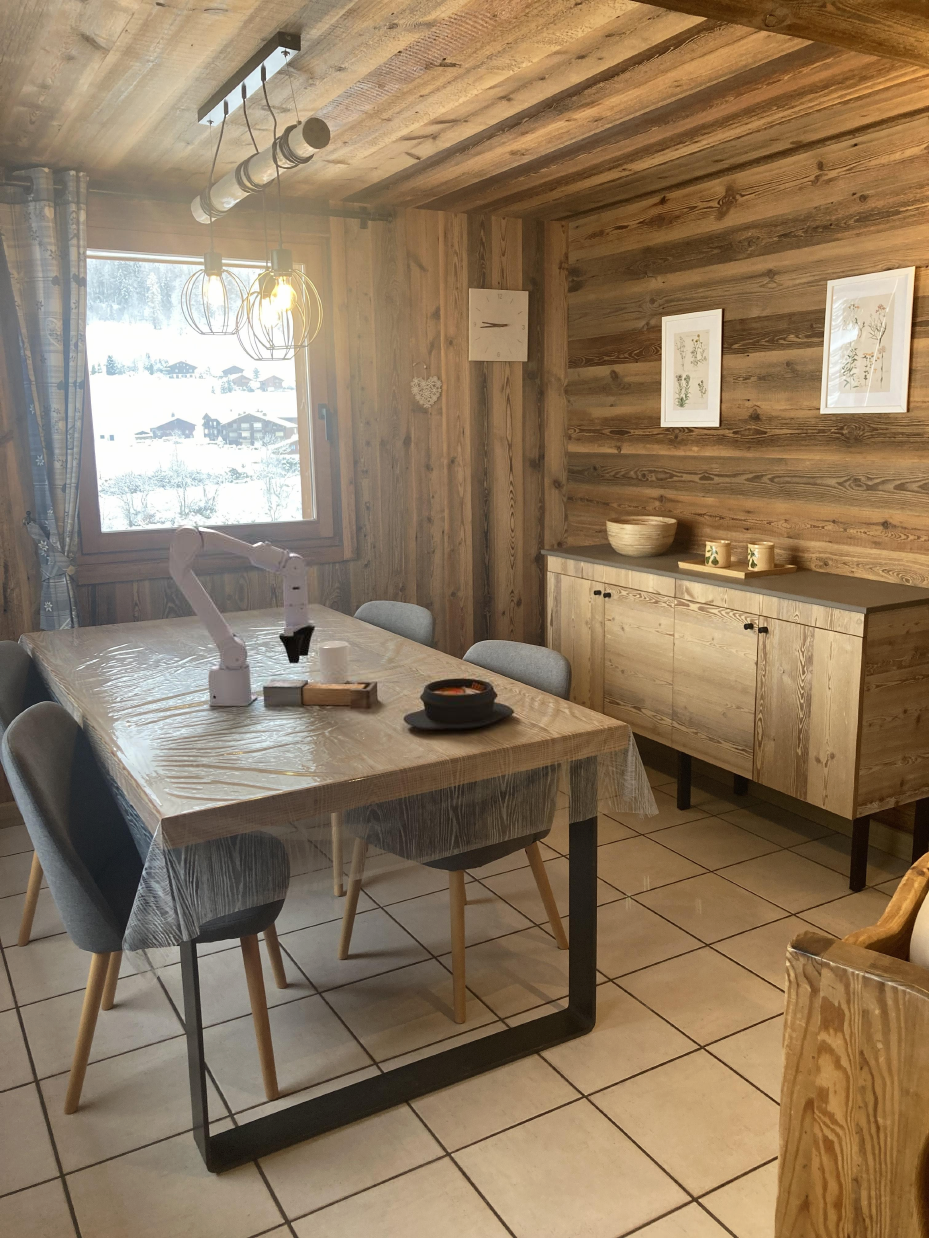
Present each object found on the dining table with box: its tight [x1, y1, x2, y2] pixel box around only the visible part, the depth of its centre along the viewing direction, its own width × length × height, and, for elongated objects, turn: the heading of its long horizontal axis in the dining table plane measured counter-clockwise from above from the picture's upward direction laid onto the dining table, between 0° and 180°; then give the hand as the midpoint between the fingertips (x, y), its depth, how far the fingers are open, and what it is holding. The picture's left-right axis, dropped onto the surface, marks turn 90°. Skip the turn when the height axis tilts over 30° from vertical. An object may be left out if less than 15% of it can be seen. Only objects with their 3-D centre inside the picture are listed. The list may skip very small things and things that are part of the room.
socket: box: [350, 680, 379, 710], centre depth 231 cm, size 5×8×4 cm, turn 173°
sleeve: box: [262, 679, 309, 708], centre depth 234 cm, size 9×7×5 cm
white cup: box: [316, 640, 349, 684], centre depth 252 cm, size 8×8×10 cm
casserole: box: [403, 677, 515, 731], centre depth 214 cm, size 25×19×8 cm
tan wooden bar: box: [301, 683, 366, 706], centre depth 232 cm, size 16×4×4 cm, turn 83°
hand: (298, 659), depth 238 cm, fingers open, 7 cm apart
